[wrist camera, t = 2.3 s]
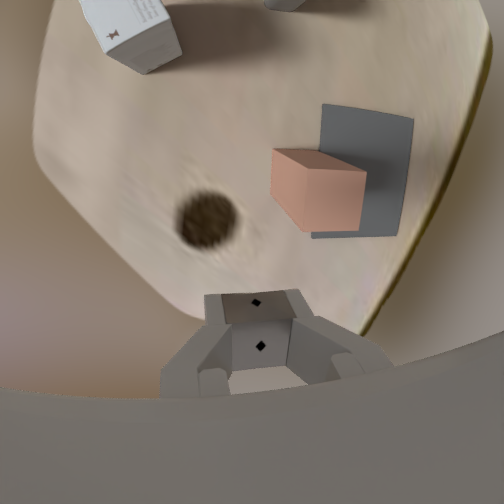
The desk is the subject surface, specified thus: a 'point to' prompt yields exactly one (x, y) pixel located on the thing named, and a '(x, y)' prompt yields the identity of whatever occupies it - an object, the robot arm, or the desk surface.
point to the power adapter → (283, 4)
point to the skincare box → (133, 32)
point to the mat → (370, 163)
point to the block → (317, 190)
